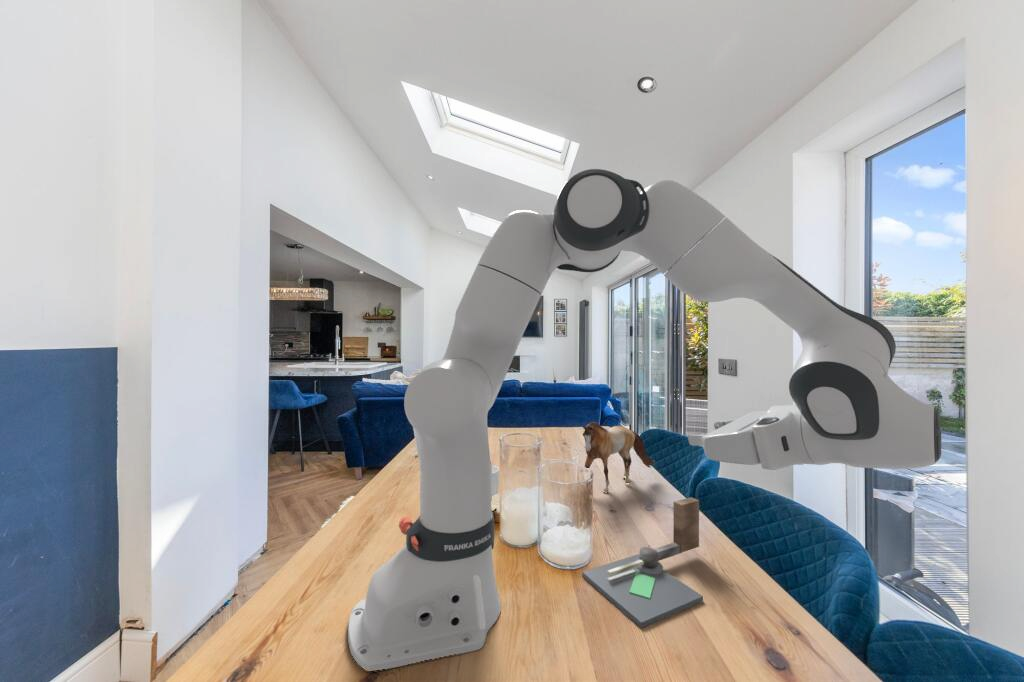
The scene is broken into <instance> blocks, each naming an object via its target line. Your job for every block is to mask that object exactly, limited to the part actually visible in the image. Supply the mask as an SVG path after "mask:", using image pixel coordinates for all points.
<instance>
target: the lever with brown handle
mask: <svg viewBox="0 0 1024 682" xmlns="http://www.w3.org/2000/svg"><path fill="white" fill-rule="evenodd" d="M699 547H700V500H698V499H697V498H694V497H692V496H691V497H687V498H684V499H683V498H682V499H679V500H675V501H673V542H671V543H667V544H665V545H662V546H658V547H655V548H652V547H649V546H648V547H647V546H645V547H644V546H643V547H641V548H639V555H640V560H638V561H635V562H632V563H629V564H626V565H623V566H620V567H616V568H613V569H610V570H607V574H608V575H609V576H612V575H615V574H618V573H621V572H624V571H627V570H630V569H633V568H636V567H639V566H642V565H643V566H645V567H649V568H655V567H657V566H658V562H659V561H662V560H666V559H668V558H670V557H671V558H672V557H674V556H678V555H680V554H683V553H684V552H687V551H690V550H693V549H696V548H699Z"/></svg>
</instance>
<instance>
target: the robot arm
mask: <svg viewBox="0 0 1024 682" xmlns="http://www.w3.org/2000/svg"><path fill="white" fill-rule="evenodd" d="M638 188H639V189H640V191H639V189H638ZM621 251H625V252H632V253H635V254H638V255H639V256H642V257H643V258H645V259H646V260H648V261H650V263H651V264H652V265H653V266H654V267H655V268H656V269H657V271H659V272H660V273H661V274H662V275H663V276H664V277H665V278H666V279H667V281H669V282H670V283H671V284H672V285H673V286H674V287H675V288H676V289H678V291H680V292H682V293H683V294H684V295H686V296H687V297H689V298H691V299H693V300H694V301H697V302H704V303H705V302H706V303H717V302H724V301H729V300H731V299H732V300H733V299H738V298H741V299H742V298H745V299H748V300H753V301H754V302H756V303H758V304H761V305H762V306H763V307H764V308H766V309H767V310H768V311H770V312H771V313H772V314H773V315H774V316H776V317H777V318H778V319H780V320H781V321H782V322H784V324H786V325H787V326H789V327H790V328H791V329H792V330H793V331H795V332H796V334H797V335H798V337H799V338H800V342H801V345H802V347H801V348H802V351H801V353H800V356H799V357H798V359H797V361H796V363H795V365H794V367H793V369H792V372H791V375H790V378H789V384H788V391H789V395H790V397H791V399H792V401H793V402H794V404H779V405H772V406H770V407H769V408H768V410H756V411H750V412H748V413H746V414H744V415H743V416H741V417H738V418H734V419H731V420H719V421H717V422H714V423H713V427H714V430H713V431H711V432H709V433H706V434H702V433H699V432H697V433H695V432H693V433H691V434H689V435H688V436H687V439H688V443H689V445H690V446H696V447H697V446H698V447H701V448H703V451H704V455H705V457H706V458H708V460H711V461H715V462H721V463H727V464H728V463H729V464H737V465H746V466H747V465H749V466H754V465H761V468H762V469H763V470H768V471H769V470H771V471H773V470H774V471H775V470H776V471H777V470H780V469H784V468H787V467H790V466H797V465H798V466H803V465H814V466H815V465H816V466H817V465H818V466H823V465H829V464H842V465H846V466H850V467H854V468H862V469H864V468H865V469H884V470H902V469H903V470H906V469H907V470H908V469H918V468H920V469H921V468H925V467H930V466H934V465H935V464H936V463H938V461H939V460H940V459H941V456H942V444H943V443H942V420H941V419H942V418H941V415H940V413H939V410H938V409H937V408H936V406H934V405H932V404H930V403H925V402H923V401H921V400H919V399H917V398H916V397H914V396H913V395H911V394H909V393H908V392H907V391H906V390H904V389H902V388H901V387H900V386H899V385H898V384H897V383H895V382H894V381H893V380H892V379H891V377H890V376H889V368H890V367H891V364H892V362H893V359H894V357H895V355H896V349H897V346H896V340H895V338H894V335H893V334H892V332H891V331H890V330H889V329H888V328H887V327H886V326H885V325H884V324H883V323H882V322H880V321H878V320H876V319H874V318H872V317H870V316H867V315H865V314H862V313H860V312H857V311H855V310H852V309H849V308H847V307H845V306H842V305H841V304H839V303H837V302H836V301H835V300H833V299H831V297H829V296H827V294H825V293H824V292H822V291H821V290H820V289H818V288H817V287H816V286H814V284H812V283H810V282H809V281H808V280H807V279H805V278H804V276H802V275H800V274H799V273H797V272H796V271H795V270H794V269H793V268H792V267H790V266H788V265H787V264H786V263H784V262H783V261H782V260H780V259H778V258H777V257H776V256H774V255H773V254H771V253H769V251H767V250H766V249H764V248H762V246H760V245H759V244H757V243H756V242H755V241H754V240H752V238H750V236H748V235H747V234H746V233H744V231H743V230H741V229H740V228H739V227H738V226H737V225H736V224H734V222H733V221H731V220H730V219H729V218H728V217H726V215H724V214H723V213H722V212H721V211H720V210H719V209H717V208H716V207H715V206H714V205H712V203H710V202H708V200H706V199H704V198H703V197H701V196H700V195H699V194H697V193H696V192H694V191H692V190H691V189H689V188H688V187H686V186H684V185H682V184H680V183H679V182H677V181H674V180H672V179H671V180H670V179H665V180H664V179H663V180H659V181H656V182H654V183H652V184H650V185H649V186H647V187H645V188H644V187H643V185H642V184H641V183H640V182H639V181H637V180H633V179H628V178H624V177H623V176H622V175H619V174H617V173H615V172H612V171H610V170H606V169H601V168H590V169H585V170H582V171H579V172H577V173H576V174H574V175H572V176H571V178H569V179H568V180H567V181H566V182H565V184H564V185H563V187H561V189H560V191H559V193H558V195H557V198H556V200H555V204H554V208H553V212H552V213H550V214H541V213H538V212H536V211H532V210H527V209H526V210H525V209H523V210H522V209H521V210H516V211H512V212H511V213H509V214H508V215H507V216H506V217H505V218H504V219H503V221H502V223H500V225H499V226H498V228H497V229H496V231H495V232H494V233H493V236H492V237H491V239H490V240H489V242H488V243H487V245H486V246H485V248H484V251H483V253H482V255H481V256H480V259H479V261H478V262H477V265H476V266H475V269H474V271H473V273H472V275H471V278H470V280H469V282H468V284H467V287H466V289H465V291H464V293H463V295H462V297H461V300H460V302H459V304H458V305H457V308H456V310H455V314H454V317H455V318H454V324H453V327H452V330H451V334H450V337H449V341H448V344H447V347H446V350H445V353H444V355H443V357H442V358H441V359H439V360H436V361H433V362H430V363H429V364H427V365H425V366H424V367H423V368H422V369H420V370H419V372H417V374H416V375H414V377H413V378H412V380H411V381H410V383H409V384H408V385H407V387H406V391H405V394H404V399H403V400H404V401H403V402H404V403H403V406H404V412H405V413H404V414H405V415H406V418H407V421H408V422H409V424H410V425H411V426H412V429H413V435H414V439H415V440H414V442H415V447H416V450H417V456H418V462H419V473H420V481H419V482H420V483H419V484H420V485H419V486H420V489H419V490H420V491H419V493H420V495H419V496H420V497H419V498H420V499H419V500H420V501H419V502H420V503H419V516H418V518H417V519H416V520H415V521H414V522H412V519H411V517H407V516H406V517H402V518H401V519H400V520H399V523H398V528H399V529H400V533H401V534H403V535H405V539H406V541H405V545H404V546H403V547H402V548H401V549H400V550H398V551H397V552H396V553H395V554H394V555H393V556H391V558H389V560H387V561H386V562H385V563H383V564H382V565H381V566H380V567H379V568H378V569H376V571H375V572H374V573H373V575H372V577H371V579H370V581H369V584H368V588H367V592H366V598H363V599H361V600H359V601H358V602H357V603H356V604H355V605H354V607H353V608H352V611H351V613H350V616H349V620H348V625H347V642H348V647H349V651H350V654H351V657H352V656H353V657H352V659H353V658H354V659H355V660H356V662H357V663H358V664H359V665H360V666H362V667H364V668H365V669H366V670H368V671H372V670H380V671H383V670H382V669H385V670H388V669H394V668H398V667H403V666H408V664H409V665H412V663H413V664H417V663H416V662H418V663H420V662H419V661H423V662H425V661H424V660H428V661H430V660H429V659H432V660H435V659H434V658H437V657H441V656H447V655H452V656H454V655H453V654H456V655H460V654H459V653H461V654H464V653H465V654H466V653H469V652H471V653H472V652H475V651H478V650H481V648H483V646H484V645H485V643H486V639H487V634H488V632H489V630H490V629H491V628H492V626H493V625H494V624H495V623H496V621H497V620H498V618H499V616H500V613H501V610H502V601H501V598H500V594H499V592H498V587H497V581H496V575H495V570H494V569H495V568H494V559H493V558H494V557H493V549H494V547H495V532H496V531H495V516H494V512H491V498H492V465H493V464H492V462H491V461H492V460H491V454H490V452H491V451H490V444H489V431H488V430H489V428H488V414H489V411H490V410H491V408H492V407H493V405H494V404H495V402H496V400H497V397H498V395H499V392H500V390H501V388H502V386H503V382H504V380H505V379H506V376H507V373H508V371H509V369H510V366H511V364H512V362H513V359H514V357H515V356H516V355H515V354H516V352H517V350H518V347H519V345H520V343H521V340H522V338H523V336H524V333H525V332H526V329H527V327H528V325H529V322H530V320H531V318H532V316H533V314H534V312H535V310H536V308H537V305H538V303H539V301H540V299H541V297H542V296H543V295H542V294H543V292H544V290H545V288H546V285H547V284H548V281H549V279H550V277H551V276H552V274H553V273H554V272H555V270H556V268H557V269H558V270H563V271H575V272H580V273H597V272H600V271H602V270H604V269H607V268H608V267H610V266H611V265H612V264H613V263H614V262H615V261H616V260H617V259H618V257H619V256H620V254H621ZM447 657H448V656H447ZM354 659H353V660H354ZM437 659H438V658H437ZM355 660H354V661H355ZM356 662H355V663H356ZM357 663H356V664H357ZM358 664H357V665H358ZM359 665H358V666H359ZM360 666H359V667H360Z"/></svg>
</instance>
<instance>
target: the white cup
mask: <svg viewBox="0 0 1024 682" xmlns="http://www.w3.org/2000/svg"><path fill="white" fill-rule="evenodd" d="M499 477H500V468H499V467H498V466H496V465H493V464H492V496H493V495H495V494H499V493H498V492H499V481H500V480H499ZM491 501H492V498H491Z"/></svg>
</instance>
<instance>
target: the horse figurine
mask: <svg viewBox="0 0 1024 682" xmlns="http://www.w3.org/2000/svg"><path fill="white" fill-rule="evenodd" d="M582 428H583V430H584V431H583V433H582V436H583V437H584V440H585V441H584V448H585V453H586V458H585V459H586V460H585V462H584V467H586V468H589V469H590V467H591V466H592V464H593V462H594V461H595V460H596V459H599V460H601V461H602V465H603V474H604V477H605V485H604V487H603V490H602V492H603V491H605V492H608V493H609V490H610V488H609V486H610V480H609V468H608V463H609V462H608V460H609V457H610V456H611V455H614V454H617V453H618V455H619V457H621V459H622V460H623V465H624V474H623V476H626V479H624V484H625V483H630V484H631V479H630V468H631V465H632V457H631V453H630V451H631V449H632V447H633V450H634V452H635V453H636V455H637V457H638V458H639V459H640V460H641V462H642V464H643V465H645V466H646V467H648V468H651V466H654V463H656V460H653V459H651V458H650V457H649V456H648V455H647V453H646V452H647V451H646V448H645V443H644V441H643V439H642V437H641V436H640V435H639V434H638V433H637V432H635V431H634V430H632V429H629V428H628V427H626V426H623V425H622V426H621V425H614V426H612V427H611V428H609V429H608V430H607V429H606V428H604V427H603V426H602V425H600V424H599V423H598V422H595V421H591V422H589V423H588V424H587V425H586V426H585V425H582Z"/></svg>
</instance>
